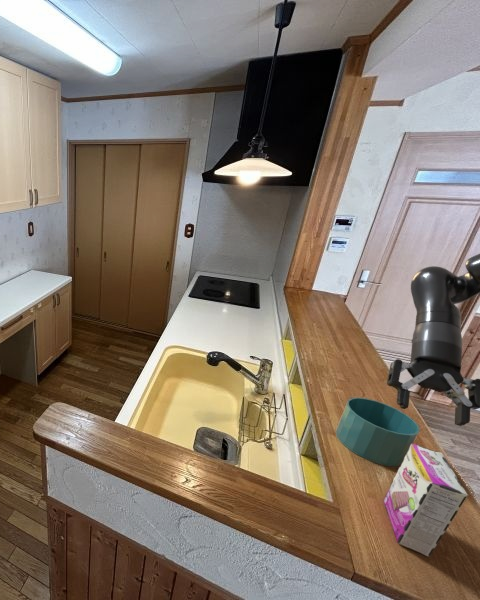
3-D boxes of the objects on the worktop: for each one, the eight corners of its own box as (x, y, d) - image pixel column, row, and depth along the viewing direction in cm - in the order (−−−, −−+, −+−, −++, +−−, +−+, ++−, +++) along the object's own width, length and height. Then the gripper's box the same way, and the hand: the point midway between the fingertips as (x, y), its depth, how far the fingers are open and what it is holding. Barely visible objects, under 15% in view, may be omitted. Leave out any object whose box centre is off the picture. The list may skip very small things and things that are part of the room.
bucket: (388, 435, 92) (402, 406, 88) (415, 474, 79) (433, 442, 76) (328, 420, 97) (339, 392, 93) (345, 454, 84) (358, 423, 81)
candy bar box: (380, 499, 72) (410, 442, 66) (410, 511, 70) (443, 452, 64) (395, 544, 63) (431, 481, 57) (430, 559, 60) (471, 495, 55)
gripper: (401, 331, 73) (394, 398, 67) (494, 350, 66) (494, 427, 60) (387, 343, 79) (379, 406, 73) (470, 362, 72) (468, 433, 66)
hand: (431, 416), depth 67 cm, fingers open, 8 cm apart
